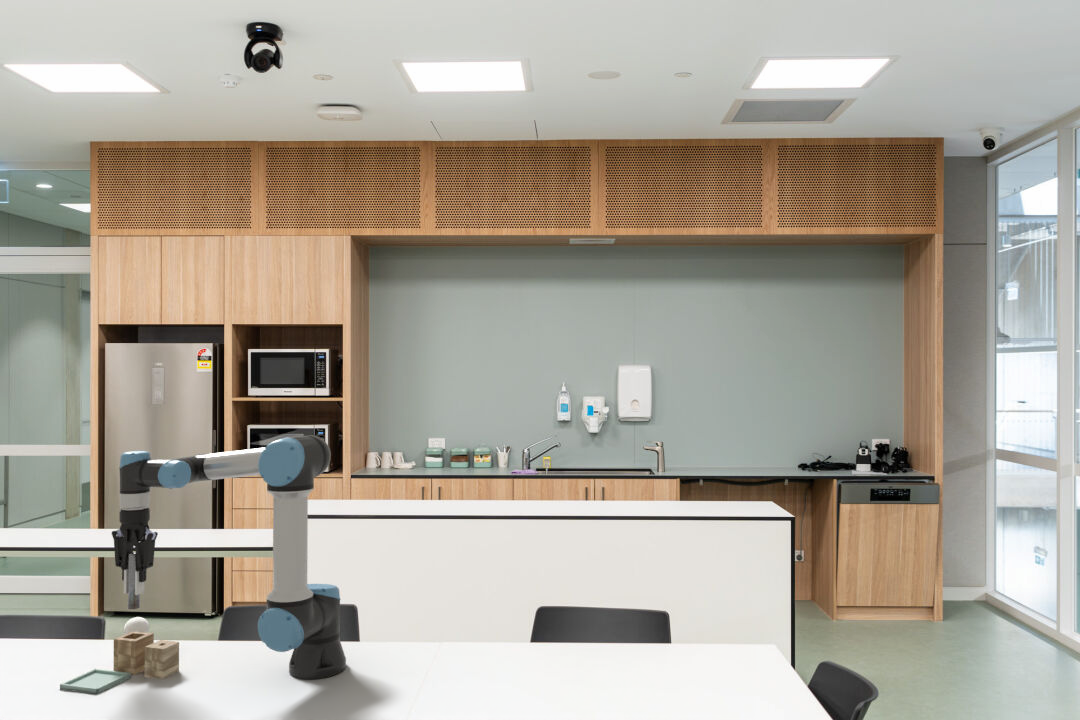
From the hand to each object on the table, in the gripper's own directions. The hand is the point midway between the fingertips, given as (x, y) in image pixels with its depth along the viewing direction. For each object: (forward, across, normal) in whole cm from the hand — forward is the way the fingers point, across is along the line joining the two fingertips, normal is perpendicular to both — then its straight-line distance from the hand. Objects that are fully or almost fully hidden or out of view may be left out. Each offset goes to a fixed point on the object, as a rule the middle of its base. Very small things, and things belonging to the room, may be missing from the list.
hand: (134, 592), depth 228 cm
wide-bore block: (+21, 0, 0) cm, 21 cm away
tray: (+21, +2, +11) cm, 24 cm away
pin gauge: (+4, 0, 0) cm, 4 cm away
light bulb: (+21, +7, -9) cm, 24 cm away
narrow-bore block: (+21, -10, +1) cm, 23 cm away
